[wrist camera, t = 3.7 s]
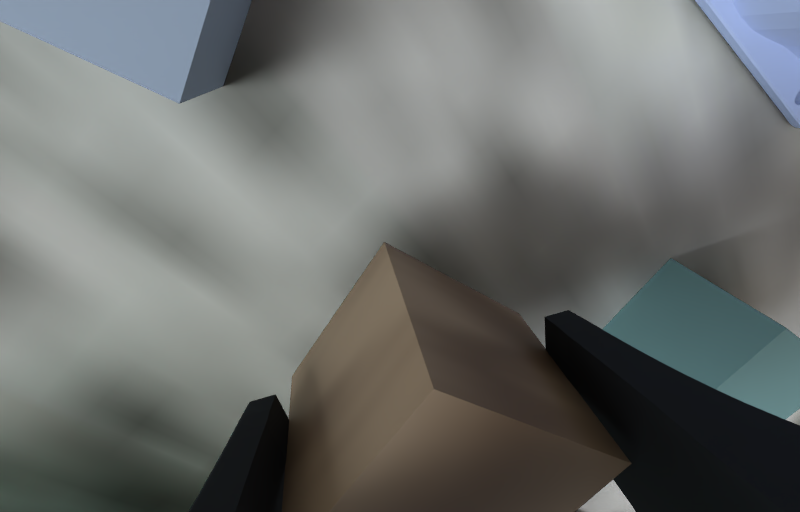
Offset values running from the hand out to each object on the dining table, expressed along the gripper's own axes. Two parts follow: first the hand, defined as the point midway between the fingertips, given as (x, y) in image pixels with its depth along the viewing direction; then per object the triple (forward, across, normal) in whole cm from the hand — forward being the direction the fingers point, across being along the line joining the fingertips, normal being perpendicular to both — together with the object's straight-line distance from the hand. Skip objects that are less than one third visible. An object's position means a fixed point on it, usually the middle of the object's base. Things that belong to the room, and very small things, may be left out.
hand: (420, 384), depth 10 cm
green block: (+5, -11, +6) cm, 14 cm away
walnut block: (+2, 0, 0) cm, 2 cm away
